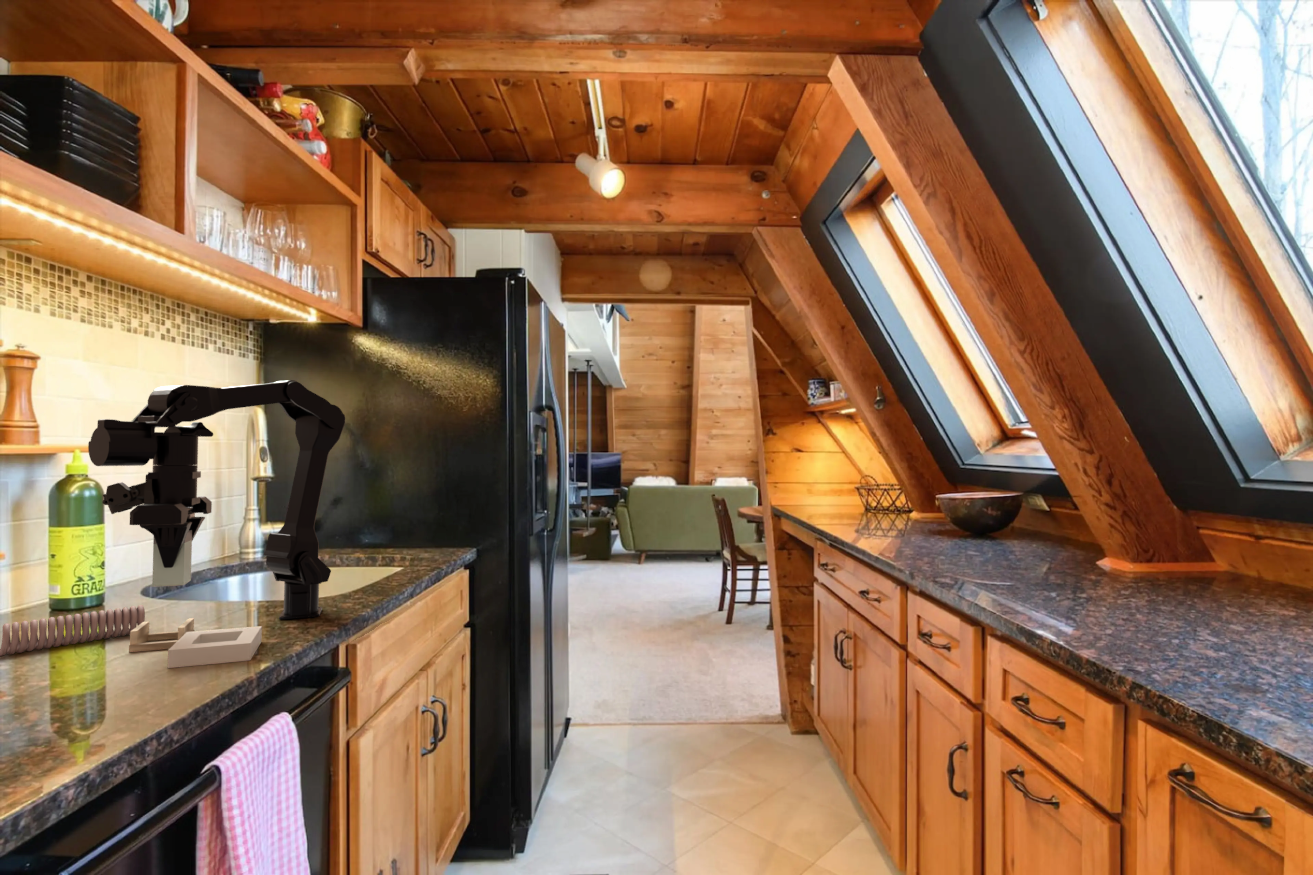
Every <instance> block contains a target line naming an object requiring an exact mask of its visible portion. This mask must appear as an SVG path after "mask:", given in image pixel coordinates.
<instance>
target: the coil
mask: <svg viewBox="0 0 1313 875" xmlns="http://www.w3.org/2000/svg"><path fill="white" fill-rule="evenodd" d="M142 622H146V613H145V606H144V605H142V604H140V605H137V607H136V606H135V605H131V606H130V607H129V608H128V606H125V607H122V609H121V608H119V607H117V608H115V609H114V610H113V609H111V608H108V609H107V610H106V611H105V610H99V611H98V612H97V611H91V612H90V613H88V612H83V613H82V615H81V614H80V613H75V614H74V616H72V615H71V614H67V615H66V616H65V617H64V616H63V615H59V616H57V617H56V618H55V617H54V616H50V617H49V618H48V619H46V618H43V617H42V618H40V619H39V622H38V620H37V619H32V620H31V621H30V622H28V620H23V621H21V624H20V622H17V621H14V622H12V624H10V623H7V622H6V623H3V624H2V637H1V638H2V639H1V645H0V657H3V656H5V655H6V654H7V655H14V654H15V653H19V654H21V653H24V652H25V651H26V652H32V651H33V650H36V651H38V650H39V651H40V650H42V649H43V648H44V649H50V648H51V647H53V648H58V647H60V646H68V645H75V644H77V643H80V644H81V643H82V644H84V643H85V642H86V641H87V642H93V641H94V640H96V641H100V640H102V639H103V640H106V639H110V638H117V637H118V636H119V637H125V636H126V635H128V636H130V631H132V630H133V629H134V628H136V627H137V626H138V625H140V624H141V623H142ZM29 624H30V625H29ZM20 625H21V626H20ZM29 632H30V633H29ZM38 632H39V634H38ZM29 634H30V635H29ZM47 634H48V635H47Z"/></svg>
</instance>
